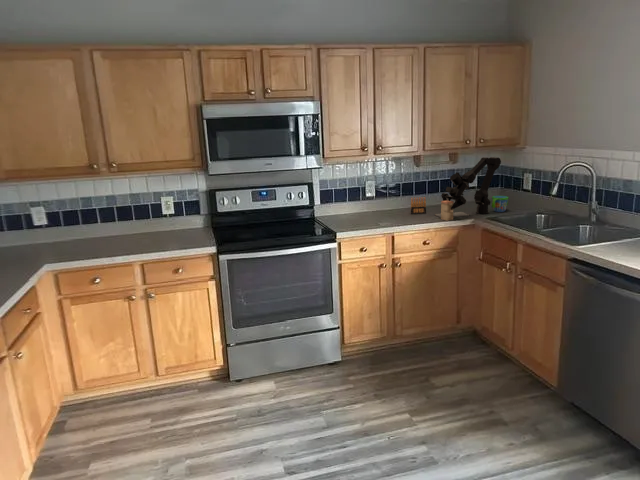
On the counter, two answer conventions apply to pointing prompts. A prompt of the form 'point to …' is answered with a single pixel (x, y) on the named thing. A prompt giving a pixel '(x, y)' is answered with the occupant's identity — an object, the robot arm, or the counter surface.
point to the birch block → (446, 210)
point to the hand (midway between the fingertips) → (446, 208)
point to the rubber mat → (455, 214)
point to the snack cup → (499, 203)
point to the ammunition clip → (418, 206)
